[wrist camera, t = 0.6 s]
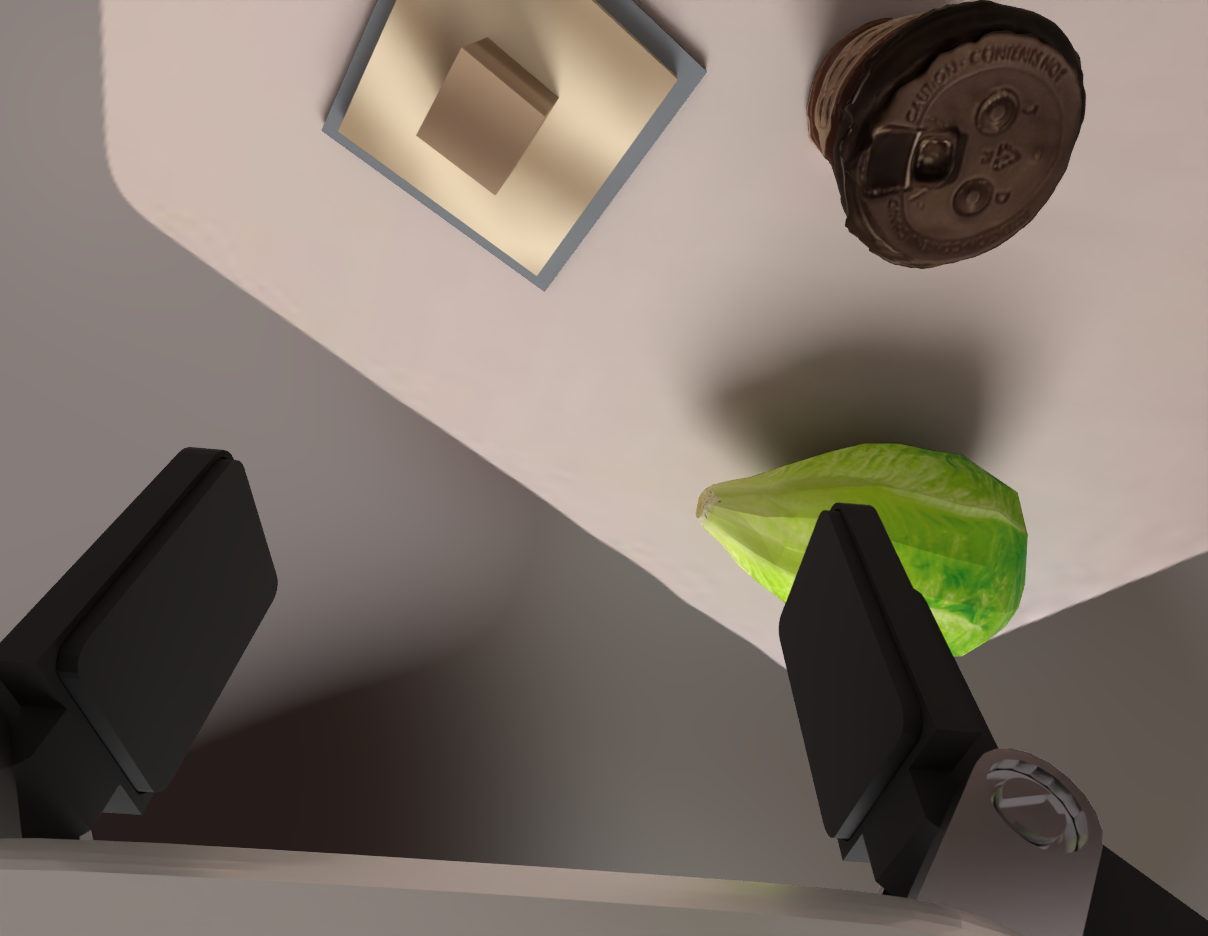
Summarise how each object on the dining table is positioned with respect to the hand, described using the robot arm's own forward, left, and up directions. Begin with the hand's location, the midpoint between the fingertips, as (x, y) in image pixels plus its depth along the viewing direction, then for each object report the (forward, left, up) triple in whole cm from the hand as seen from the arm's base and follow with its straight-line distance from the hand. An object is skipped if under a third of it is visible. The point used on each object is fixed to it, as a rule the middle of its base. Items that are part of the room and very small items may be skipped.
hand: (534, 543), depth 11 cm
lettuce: (+7, +25, -30) cm, 39 cm away
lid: (+1, -6, -29) cm, 29 cm away
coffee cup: (-10, +8, -30) cm, 32 cm away
